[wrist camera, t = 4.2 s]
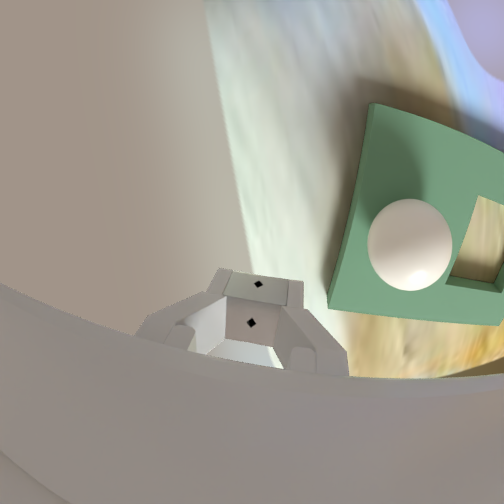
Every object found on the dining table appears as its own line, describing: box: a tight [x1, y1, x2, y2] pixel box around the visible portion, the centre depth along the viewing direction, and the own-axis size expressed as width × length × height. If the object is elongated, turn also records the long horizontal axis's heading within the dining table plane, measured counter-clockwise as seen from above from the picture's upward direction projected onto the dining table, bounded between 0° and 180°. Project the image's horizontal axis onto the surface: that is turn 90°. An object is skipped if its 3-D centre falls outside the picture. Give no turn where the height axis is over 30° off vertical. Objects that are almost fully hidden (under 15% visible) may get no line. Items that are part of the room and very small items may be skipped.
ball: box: [367, 199, 452, 291], centre depth 14 cm, size 5×5×5 cm
